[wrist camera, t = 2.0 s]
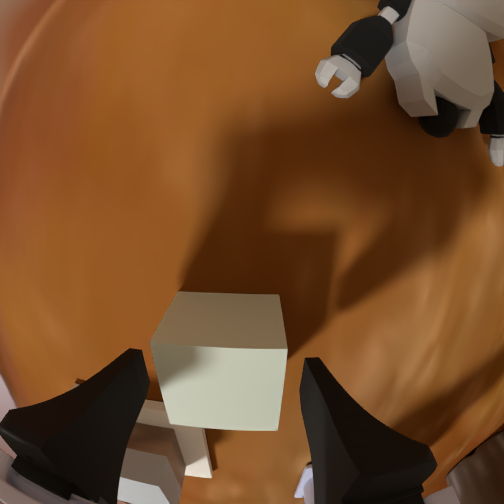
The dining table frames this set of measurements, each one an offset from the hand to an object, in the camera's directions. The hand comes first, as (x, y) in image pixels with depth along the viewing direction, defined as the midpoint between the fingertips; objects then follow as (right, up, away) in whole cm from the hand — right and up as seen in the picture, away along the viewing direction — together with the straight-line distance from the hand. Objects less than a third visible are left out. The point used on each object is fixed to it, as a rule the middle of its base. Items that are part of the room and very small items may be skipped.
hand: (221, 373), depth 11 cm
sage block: (0, +1, +3) cm, 3 cm away
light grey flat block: (-7, -10, +3) cm, 13 cm away
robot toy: (+10, +18, -2) cm, 21 cm away
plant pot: (+36, -25, +11) cm, 45 cm away
